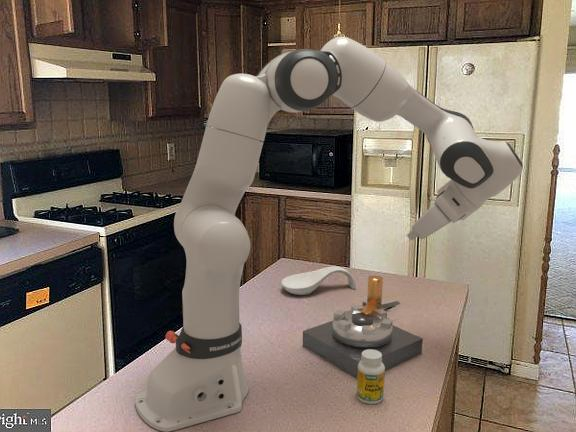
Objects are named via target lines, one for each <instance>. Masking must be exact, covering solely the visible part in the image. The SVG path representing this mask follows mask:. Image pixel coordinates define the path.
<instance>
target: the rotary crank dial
mask: <svg viewBox="0 0 576 432" xmlns="http://www.w3.org/2000/svg"><path fill="white" fill-rule="evenodd" d="M383 283H384V278H383V277H382V276H379V275H369V276H368V277H367V300H366V302H367V305H366V306H365V307H364V308H363V307H362V304H360V305H358V304H357V305H356V304H354V305H350V307H351V310H342V309H341V310H340V309H336V311H335V312H334V313H333V318H332V321H333V336H334V337H335V338H336V339H337V340H339V341H340V342H342V343H344V344H347V345H351V346H355V347H378V346H382V345H384V344H387V343H388V342H389V341H390V340H391V339H392V328H393V324H394V323H393V320H394V319H391V318H390V317H388V311H386V310H384V309H381V305H382V303H383V302H382V299H383V287H384V286H383Z"/></svg>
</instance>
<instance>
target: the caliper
mask: <svg viewBox="0 0 576 432" xmlns="http://www.w3.org/2000/svg"><path fill="white" fill-rule="evenodd" d="M398 304H401V302H400V301H399V300H397V299H392V300H389V301H385V302H382V305H381V309H382V310H384V309H388V308H393V307H396V306H397V305H398ZM361 305H362V307H363V308H364V307H365V306H366V305H367V300H366V301H362V304H361Z"/></svg>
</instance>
